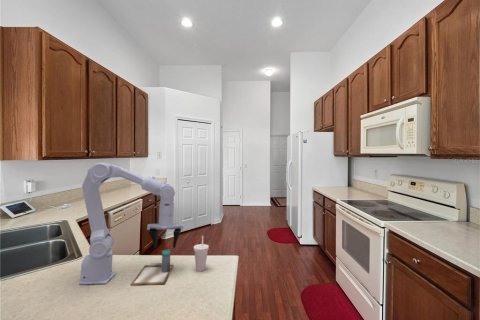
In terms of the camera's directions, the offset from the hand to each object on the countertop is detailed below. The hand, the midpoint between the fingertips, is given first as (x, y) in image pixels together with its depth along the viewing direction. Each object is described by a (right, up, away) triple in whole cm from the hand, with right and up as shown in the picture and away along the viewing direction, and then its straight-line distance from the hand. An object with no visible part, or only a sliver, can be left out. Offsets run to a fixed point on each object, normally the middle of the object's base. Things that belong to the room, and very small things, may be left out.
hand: (165, 247), depth 91 cm
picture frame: (-3, -10, -3) cm, 11 cm away
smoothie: (+14, -11, +2) cm, 18 cm away
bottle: (+1, -9, -1) cm, 9 cm away
